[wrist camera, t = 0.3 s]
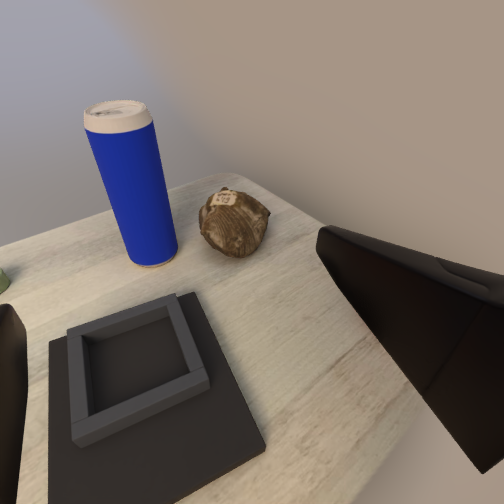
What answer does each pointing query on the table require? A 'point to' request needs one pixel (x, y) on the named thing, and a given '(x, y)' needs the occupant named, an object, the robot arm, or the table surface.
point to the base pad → (144, 408)
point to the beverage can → (133, 178)
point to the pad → (3, 281)
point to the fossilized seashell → (233, 222)
